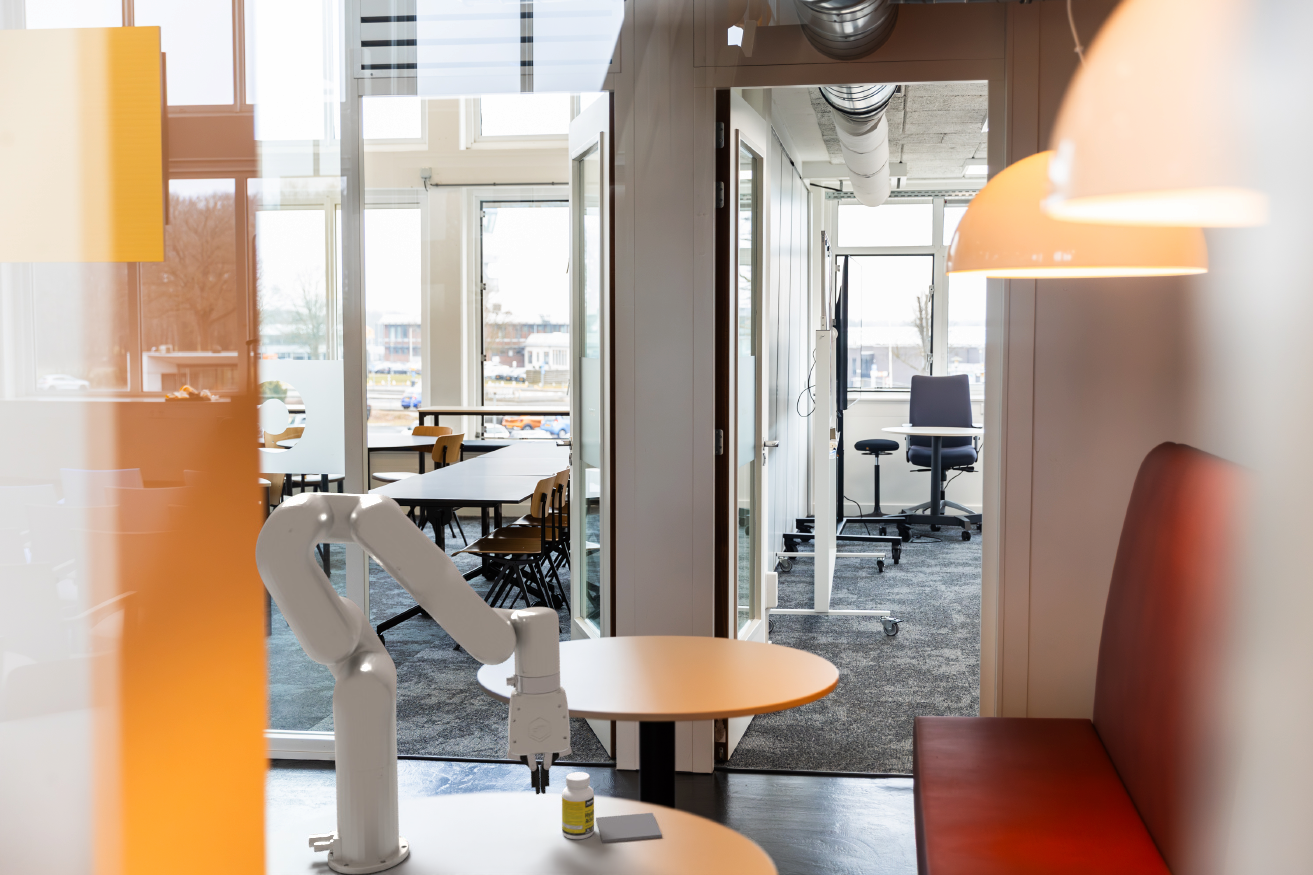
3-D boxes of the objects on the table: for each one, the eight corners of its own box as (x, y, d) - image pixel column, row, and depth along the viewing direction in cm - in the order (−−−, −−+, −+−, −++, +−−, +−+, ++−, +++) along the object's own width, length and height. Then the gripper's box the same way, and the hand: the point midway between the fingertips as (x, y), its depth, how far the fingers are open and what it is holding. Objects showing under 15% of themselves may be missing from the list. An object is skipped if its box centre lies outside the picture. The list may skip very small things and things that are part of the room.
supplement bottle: (589, 841, 159) (588, 782, 159) (558, 838, 160) (557, 780, 160) (598, 827, 164) (597, 770, 164) (567, 825, 166) (566, 769, 165)
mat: (602, 842, 158) (602, 839, 158) (596, 820, 167) (596, 817, 167) (661, 837, 160) (661, 834, 160) (652, 815, 169) (652, 812, 169)
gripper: (492, 691, 156) (495, 803, 156) (584, 685, 158) (587, 795, 159) (492, 679, 163) (495, 786, 164) (580, 673, 166) (582, 778, 166)
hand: (540, 790), depth 161 cm, fingers closed
